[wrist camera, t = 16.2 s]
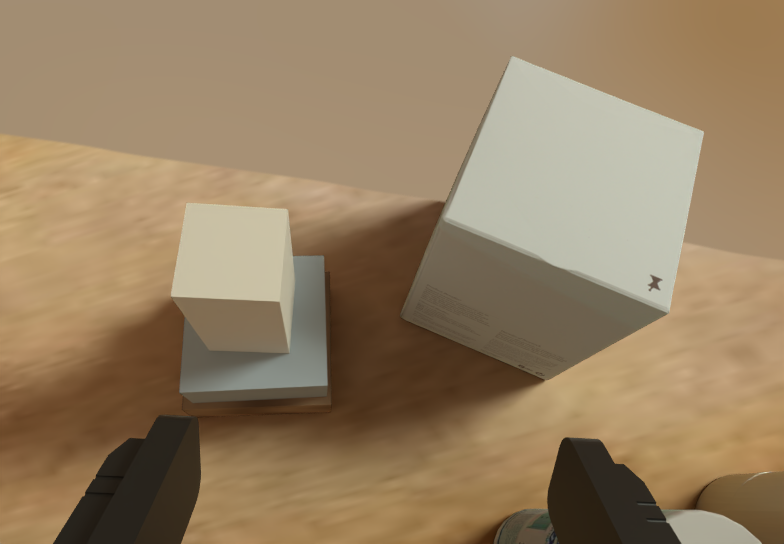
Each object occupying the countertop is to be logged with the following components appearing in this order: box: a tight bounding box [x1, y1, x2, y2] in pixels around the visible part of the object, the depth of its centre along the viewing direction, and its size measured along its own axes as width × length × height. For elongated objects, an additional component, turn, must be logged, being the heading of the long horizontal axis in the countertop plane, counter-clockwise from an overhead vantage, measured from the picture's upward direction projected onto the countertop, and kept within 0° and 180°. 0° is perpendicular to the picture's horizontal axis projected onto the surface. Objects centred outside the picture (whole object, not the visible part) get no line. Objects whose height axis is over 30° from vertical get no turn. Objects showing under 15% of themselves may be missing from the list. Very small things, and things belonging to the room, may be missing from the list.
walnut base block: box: [182, 272, 331, 417], centre depth 42 cm, size 10×10×4 cm
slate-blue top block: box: [179, 256, 328, 403], centre depth 38 cm, size 9×9×4 cm
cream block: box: [171, 203, 295, 353], centre depth 32 cm, size 5×5×10 cm
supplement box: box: [400, 56, 704, 380], centre depth 40 cm, size 13×13×18 cm
